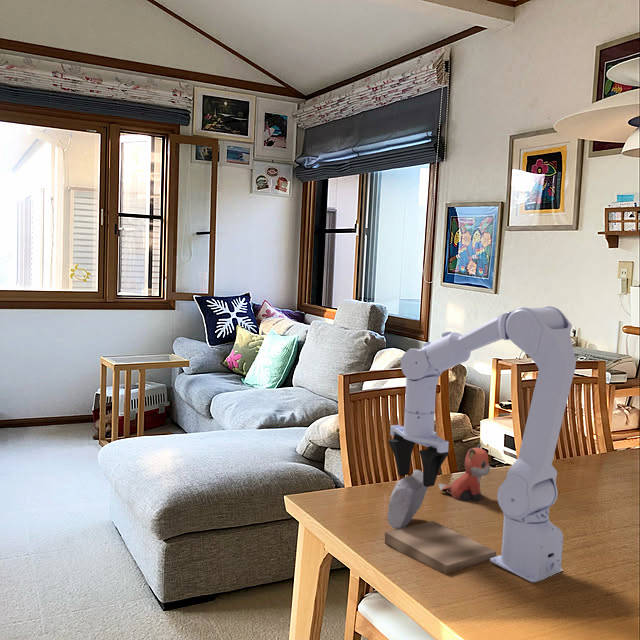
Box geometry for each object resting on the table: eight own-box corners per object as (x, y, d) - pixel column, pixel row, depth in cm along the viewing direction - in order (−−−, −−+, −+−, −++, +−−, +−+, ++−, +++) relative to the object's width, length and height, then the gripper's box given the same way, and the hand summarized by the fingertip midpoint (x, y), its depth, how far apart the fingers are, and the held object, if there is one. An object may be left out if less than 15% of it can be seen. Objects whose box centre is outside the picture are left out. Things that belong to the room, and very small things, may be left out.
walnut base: (495, 562, 125) (496, 551, 125) (445, 577, 118) (446, 565, 118) (432, 531, 138) (433, 521, 138) (384, 542, 131) (385, 532, 131)
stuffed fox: (440, 488, 164) (443, 437, 163) (489, 495, 160) (493, 443, 159) (433, 498, 157) (436, 444, 156) (485, 506, 153) (488, 451, 152)
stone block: (406, 538, 134) (414, 487, 133) (383, 530, 136) (390, 480, 135) (428, 519, 145) (435, 472, 143) (406, 512, 147) (412, 466, 146)
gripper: (462, 416, 133) (457, 488, 134) (410, 401, 144) (407, 467, 146) (434, 420, 129) (429, 493, 130) (383, 404, 141) (380, 472, 142)
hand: (415, 480), depth 137 cm, fingers open, 7 cm apart
